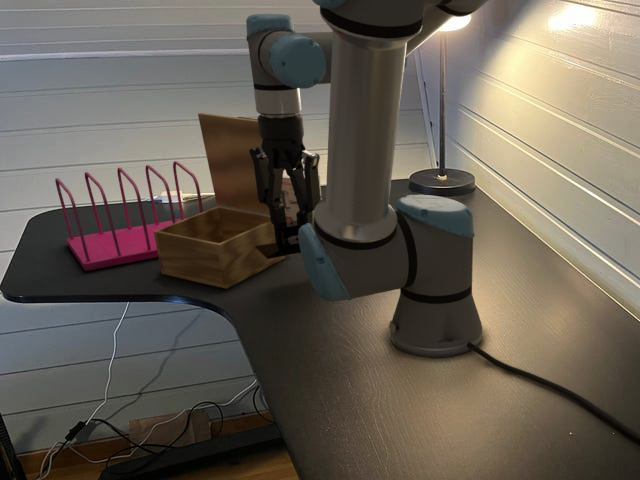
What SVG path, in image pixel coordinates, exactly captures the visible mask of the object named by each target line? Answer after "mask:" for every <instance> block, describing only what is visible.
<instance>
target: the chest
mask: <svg viewBox="0 0 640 480" xmlns="http://www.w3.org/2000/svg"><path fill="white" fill-rule="evenodd" d="M185 218H186V219H184V220H181V221H179V222H176V223H174V224H171V225H168V226H166V227H163V228H161V229H158V230H155V231H153V233H154V237H155V242H156V247H157V252H158V257H157V258H158V261H159V262H158V263H159V267H160V272H161V274H162V275H165V276H169V277H174V278H179V279H182V280H187V281H191V282H196V283H200V284H205V285H209V286H212V287H217V288H220V289H226V290H228V289H229V288H231V287H233V286H236V285H237V284H238V283H240V282H243V281H244V280H246V279H249V278H250V277H252V276H253V275H256V274H258V273H259V272H262V271H264V270H265V269H267V268H269V267H271V266H273V265H274V264H275V265H276V264H277V263H279V262H281V261H283V260H284V259H286V256H282V257H277V258H271V259H267V258H266V257H265V256H264V255H263V254H262V253H260V252H259V251H258V250H257V249H256V247H255V246H258V245H264V244H270V243H275V242H276V239H275V231H274V224H272V223H271V220H270V214H265V213H259V212H254V211H249V210H243V209H238V208H232V207H227V206H221V205H217V206H215V207H212V208H210V209H207V210H205V211H203V212H202V213H200V212H199V213H197V214H194V215H192V216H189V217H185Z"/></svg>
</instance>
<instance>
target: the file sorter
mask: <svg viewBox="0 0 640 480" xmlns="http://www.w3.org/2000/svg"><path fill="white" fill-rule="evenodd" d="M177 166H178V167H179V168H180V169H181V170H183V171H184V172H185V173H187V174H188V175H189V176H190V177H191V178H192V180H193V183H194V185H195V189H196V195H197V202H198V209H199V213H202V212H204V208H203V202H202V195H201V189H200V184H199V181H198V179H197V176H196V175H195V174H194V173H193V172H192V171H191V170H189V169H188V168H187V167H186V166H185V165H184V164H182V163H181V162H179V161H178V160H174V161H173V162H172V171H173V177H174V184H175V188H176V195H177V202H178V206H179V212H180V218H179V219H176V217H175V211H174V205H173V200H172V195H171V191H170V187H169V184H168V181H167V180H166V178H165V177H164V176H163V175H162V174H161V173H159V172H158V171H157V170H156V169H155V168H154V167H153V166H151V165H150V164H146V165H145V170H144V171H145V175H146V176H145V177H146V182H147V187H148V192H149V198H150V203H151V208H152V212H153V217H154V222H155V223H150V224H147V222H146V218H145V212H144V208H143V203H142V199H141V194H140V192H139V191H140V190H139V188H138V185H137V184H136V183H135V181H134V179H132V178H131V176H130V175H129V174H128V173H127V172H126V171H125V170H124V169H123V168H122V167H117V172H116V173H117V178H118V184H119V188H120V193H121V199H122V204H123V208H124V214H125V219H126V225H127V228H126V227H125V228H121V229H115V227H114V223H113V219H112V214H111V212H110V211H111V210H110V208H109V203H108V199H107V196H106V194H105V190H104V188H103V186H102V184H100V183H99V181H98V180H97V179H96V178H95V177H94V176H93V175H92V174H91V173H90V172H88V171H85V172H84V179H85V180H84V181H85V183H86V184H85V185H86V188H87V191H88V195H89V199H90V203H91V206H92V209H93V213H94V217H95V220H96V224H97V228H98V231H99V232H96V233H90V234H85V235H84V232H83V229H82V225H81V221H80V217H79V213H78V209H77V206H76V203H75V200H74V197H73V193H72V192H71V191H70V189H68V186H66V185H65V184H64V182H63V181H62V180H61V179H60V178H59V177H56V178H55V180H54V182H55V186H56V191H57V194H58V198H59V201H60V205H61V208H62V213H63V217H64V219H65V223H66V228H67V231H68V234H69V237H68V238H66V243H67V246H68V248H69V249H70V251H71V252H72V253H73V255H74V256H75V258H76V259H77V261H78V262H79V264H80V265H81V267H82V268H83V269H84V271H86V272H89V271H93V270H98V269H104V268H109V267H114V266H118V265H125V264H129V263H134V262H140V261H144V260H150V259H155V258H159V257H158V252H157V247H156V242H155V237H154V233H153V231H155V230H158V229H161V228H163V227H166V226H168V225H171V224H174V223H176V222H179V221H181V220H184V219H186V218H187V217H185V214H184V209H183V204H182V197H181V191H180V184H179V179H178V173H177ZM149 170H150V171H151V172H152V173H153V174H154V175H156V177H158V178H159V179H160V180H161V181H162V183H163V185H164V188H165V191H166V195H167V200H168V205H169V206H168V207H169V210H170V216H171V220H166V221H161V222H159V221H158V215H157V210H156V209H157V208H156V204H155V199H154V194H153V189H152V183H151V178H150V172H149ZM122 175H123V176H124V177H125V178H126V179H127V180H128V182H130V184H131V185H132V187H133V189H134V191H135V195H136V200H137V204H138V209H139V214H140V218H141V223H142V224H141V225H139V226H138V225H137V226H132V225H131V219H130V216H129V215H130V214H129V210H128V204H127V200H126V195H125V190H124V185H123V180H122ZM89 179H90V180H89ZM90 181H92V182H93V184H94V185H96V187H98V189H99V192H100V194H101V197H102V201H103V204H104V208H105V211H106V215H107V219H108V222H109V227H110V230H108V231H103V228H102V224H101V221H100V217H99V213H98V210H97V207H96V203H95V202H96V201H95V198H94V195H93V192H92V188H91V184H90ZM61 188H62V189H63V190H64V192H66V194H67V195H68V197H69V201H70V203H71V206H72V209H73V213H74V217H75V221H76V225H77V229H78V233H79V236H74V233H73V231H72V227H71V223H70V218H69V216H68V212H67V209H66V204H65V201H64V198H63V197H64V196H63V194H62V190H61Z"/></svg>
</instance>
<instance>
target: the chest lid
mask: <svg viewBox="0 0 640 480" xmlns="http://www.w3.org/2000/svg"><path fill="white" fill-rule="evenodd" d="M197 117H198V122H199V127H200V132H201V136H202V141H203V145H204V150H205V155H206V160H207V165H208V169H209V174H210V180H211V183H212V188H213V192H214V198H215V202H216V205H217V206H222V207H227V208H233V209H238V210H244V211H249V212H255V213H260V214H265V215H270V212H269V208H268V206H267V205H266V204H264V203H260V202H259V200H258V193H257V186H256V178H255V171H254V163H253V160H252V158H251V155H250V152H249V150H250V149H251V148H255V147H258V146H261V144H262V141H263V139H262V138H261V137H260V135H259V127H258V119H257V118H252V117H244V116H237V117H235V116H227V115H220V114H211V113H205V112H204V113H203V112H199V113H197ZM266 157H267V156H266ZM267 161H268V158H267ZM279 206H280V205H279Z"/></svg>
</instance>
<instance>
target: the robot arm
mask: <svg viewBox="0 0 640 480" xmlns="http://www.w3.org/2000/svg"><path fill="white" fill-rule="evenodd" d="M311 1H312V2H313V4H315V5H317V6H319V15H320V17H321V19H322V20H323V21H324V22H325V23H326V25H327V26H328V27H329V28H330V29H331V30H332V31H314V32H313V31H311V32H309V31H307V32H296V30H295V26H294V21H293V18H292V17H291V16H290V15H288V14H282V13H281V14H280V13H260V14H258V13H257V14H251V15H248V16H247V18H246V20H245V24H246V25H245V26H246V37H245V39H246V41H247V45H248V54H249V63H250V68H251V70H250V71H251V76H252V77H251V78H252V83H253V84H252V85H253V93H254V103H255V111H256V113H258V114H259V115H258V117H257V118H256V119H258V127H259V135H260V137H261V138H262V139H263V141H262V144H261V146H258V147H255V148H251V149H250V150H249V152H250V155H251V158H252V160H253V163H254V171H255V178H256V186H257V193H258V200H259V202H260V203H264V204H266V205H267V206H268V208H269V212H270V214H269V216H270V220H271V223H272V224H274V231H275V239H276V243H280V238H279V234H278V232H279V228H280V225H279V223H285V222H286V215H285V206H282V205H281V206H279V205H280V204H282V203H283V202H282V201H281V191H282V179H283V172H285V171H286V173H287V175H288V176H289V177H290V180H291V183H292V186H293V190H294V193H295V197H296V200H297V203H298V207H299V210H300V211H298V212H297V213H296V216H297V225H298V235H297V236H298V238H299V245H300V250H301V253H300V254H301V257H302V262H303V264H304V267H305V270H306V274H307V276H308V278H309V280H310V283H311V285H312V288H313V289H314V291H315V293H316V294H317V295H318V296H319V297H320V298H321V299H322V300H323V301H325V302H329V303H333V302H340V301H341V302H343V301H351V300H353V299H358V298H363V297H367V296H372V295H376V294H381V293H386V292H391V291H395V290H399V297H398V299H397V303H396V307H395V309H394V313H393V316H392V319H390V321H389V324H388V328H389V330H390V340H391V342H392V344H393V345H394V346H395V347H396V348H398V350H400V351H402V352H404V353H406V354H410V355H414V356H417V357H424V358H449V357H454V356H460V355H461V354H465V353H468V352H469V351H473V352H474V353H476V354H477V355H479V356H481V357H482V358H483V359H485V360H486V361H488V362H489V363H491V364H493V365H495V366H496V367H498V368H500V369H502V370H505V371H507V372H509V373H513V374H515V375H518V376H521V377H524V378H526V379H528V380H531V381H533V382H535V383H539V384H541V385H544V386H546V387H547V388H550V389H552V390H555V391H557V392H559V393H561V394H563V395H565V396H567V397H568V398H571V399H572V400H574V401H576V402H578V403H579V404H581V405H583V406H584V407H585V408H587V409H588V410H590V411H591V412H593V413H594V414H595V415H597V416H598V417H600V418H602V419H603V420H605V421H606V422H608V423H610V424H611V425H613V427H615V428H617V429H618V430H620V431H621V432H622V433H624V434H626V435H627V436H628V437H630V438H631V439H633V440H635V441H636V442H639V443H640V434H639V433H638V432H636V431H634V430H633V429H631V428H629V427H628V426H627V425H625V424H623V423H622V422H621V421H619V420H618V419H617V418H615V417H613V416H612V415H611V414H608V413H607V412H606V411H604V410H603V409H601V408H599V407H598V406H597V405H595V404H594V403H592V402H590V401H589V400H587V399H586V398H585V397H583V396H581V395H580V394H578V393H575V392H574V391H572V390H570V389H568V388H566V387H564V386H562V385H560V384H557V383H555V382H553V381H550V380H548V379H546V378H543V377H541V376H539V375H536V374H533V373H532V372H528V371H526V370H523V369H520V368H517V367H516V366H515V367H514V366H512V365H510V364H507V363H504V362H502V361H501V360H498V359H497V358H495V357H493V356H491V354H489V353H487V351H485V350H483V349H481V348H480V347H478V346H479V345H480V343H481V342H482V339H483V325H482V321H481V317H480V314H479V311H478V309H477V305H476V303H475V299H474V296H473V265H474V264H473V262H474V261H473V260H474V259H473V258H474V238H475V230H474V216H473V213H472V211H471V209H470V208H469V207H468V206H467V205H466V204H464V203H463V202H460V201H457V200H454V199H451V198H447V197H443V196H438V195H430V194H409V195H408V194H407V195H404V196H403V197H400V198H398V200H397V202H396V204H395V208H396V210H395V209H394V208H393V207H392V206H391V204H390V194H391V187H392V186H391V185H392V176H393V170H394V169H393V167H394V159H395V150H396V143H397V142H396V141H397V133H398V123H399V116H400V115H399V114H400V107H401V106H400V105H401V96H402V90H403V80H404V74H405V72H406V68H407V66H408V56H409V55H410V54H411V53H412V52H414V51H415V50H416V49H417V48H418V47H420V46H421V45H422V44H424V43H425V42H426V41H427V40H429V39H430V38H431V37H432V36H433V35H435V34H436V33H437V32H438V31H439V30H441V29H442V28H443V27H444V26H446V25H447V24H448V23H450V22H451V20H453V19H454V18H455V17H456V18H464V17H468V16H470V15H472V14H473V13H476V11H478V10H479V9H481V7H483V6H484V5H485V4H486V3H487V2H489V0H311ZM327 84H330V88H329V89H330V90H329V111H328V112H329V116H328V137H327V138H328V139H327V160H326V161H327V163H326V185H325V197H323V198H322V200H321V198H320V187H319V176H320V175H319V163H320V159H321V157H320V154H319V153H316V152H315V153H311V152H310V151H308V150H307V148H306V146H305V144H304V135H305V128H304V119H303V118H304V117H303V115H302V114H301V113H300V112H301V111H302V110H303V109H302V102H301V101H302V100H301V91H300V90H305V89H306V90H307V89H310V88H313V87H314V86H316V85H327ZM266 156H267V157H266ZM267 158H268V161H267ZM302 160H303V161H302ZM303 172H304V174H303ZM304 176H305V178H304ZM312 211H314V223H313V218H312ZM286 239H287V240H288V239H289V238H286Z"/></svg>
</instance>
